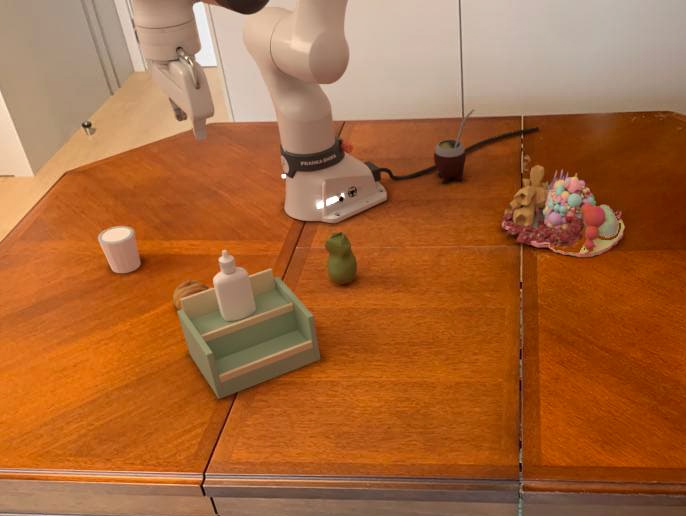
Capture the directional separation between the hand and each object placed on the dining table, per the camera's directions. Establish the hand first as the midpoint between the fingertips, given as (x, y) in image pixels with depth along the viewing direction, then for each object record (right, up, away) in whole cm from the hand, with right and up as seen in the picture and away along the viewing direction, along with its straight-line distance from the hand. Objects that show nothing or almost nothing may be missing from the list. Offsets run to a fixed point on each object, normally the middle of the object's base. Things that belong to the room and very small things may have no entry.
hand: (191, 128), depth 131 cm
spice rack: (+9, -37, +5) cm, 38 cm away
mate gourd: (+44, +6, +52) cm, 68 cm away
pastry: (-4, -27, +17) cm, 32 cm away
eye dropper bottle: (+7, -30, +3) cm, 31 cm away
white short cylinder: (-21, -17, +29) cm, 40 cm away
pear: (+23, -22, +21) cm, 38 cm away
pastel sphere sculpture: (+66, -8, +34) cm, 75 cm away
